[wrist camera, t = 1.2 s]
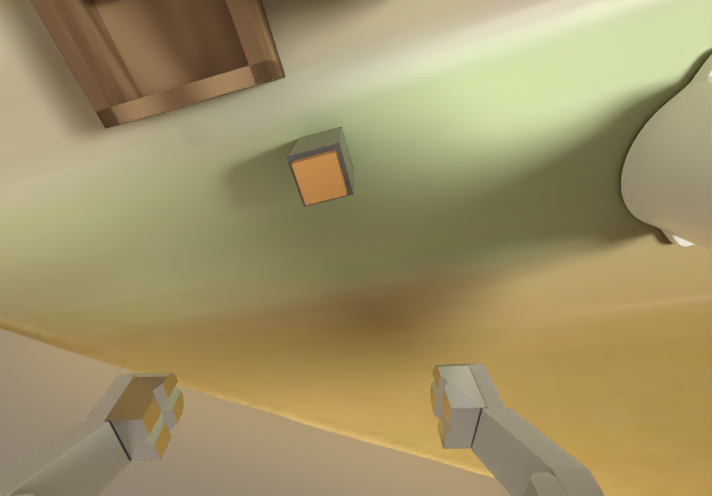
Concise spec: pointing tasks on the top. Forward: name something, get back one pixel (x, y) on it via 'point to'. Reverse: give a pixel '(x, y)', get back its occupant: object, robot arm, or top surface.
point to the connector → (322, 167)
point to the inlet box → (161, 51)
